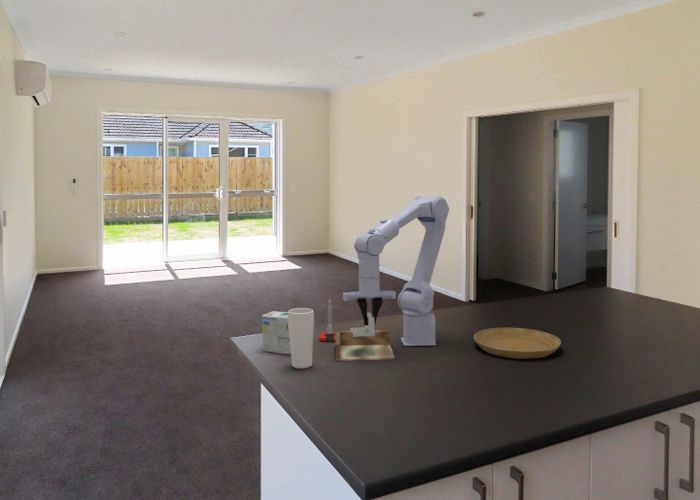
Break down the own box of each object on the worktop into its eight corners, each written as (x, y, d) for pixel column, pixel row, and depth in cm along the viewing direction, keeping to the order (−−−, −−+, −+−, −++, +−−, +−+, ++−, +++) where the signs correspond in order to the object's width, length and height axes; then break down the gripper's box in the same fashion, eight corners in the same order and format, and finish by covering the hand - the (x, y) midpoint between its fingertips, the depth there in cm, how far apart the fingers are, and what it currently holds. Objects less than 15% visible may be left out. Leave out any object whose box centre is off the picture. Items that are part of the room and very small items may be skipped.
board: (389, 345, 170) (389, 343, 170) (394, 359, 156) (394, 357, 156) (335, 346, 170) (335, 344, 170) (336, 360, 156) (336, 358, 156)
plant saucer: (567, 364, 151) (567, 352, 151) (473, 360, 156) (474, 348, 156) (553, 339, 175) (554, 329, 174) (473, 336, 179) (473, 326, 179)
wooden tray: (389, 343, 170) (389, 330, 170) (394, 357, 156) (394, 343, 156) (335, 344, 170) (335, 331, 169) (336, 358, 156) (335, 344, 155)
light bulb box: (305, 349, 167) (305, 313, 166) (294, 355, 161) (293, 318, 160) (274, 345, 172) (273, 310, 170) (262, 351, 165) (260, 314, 164)
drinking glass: (318, 363, 154) (317, 308, 152) (308, 371, 147) (307, 314, 146) (295, 361, 156) (294, 307, 154) (284, 368, 149) (283, 312, 148)
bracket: (374, 335, 158) (374, 317, 157) (353, 336, 157) (352, 318, 157) (370, 329, 165) (370, 312, 164) (350, 330, 164) (349, 313, 163)
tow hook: (322, 335, 184) (315, 341, 175) (321, 295, 183) (315, 299, 174) (347, 336, 183) (343, 342, 173) (347, 296, 182) (343, 300, 173)
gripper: (392, 273, 164) (392, 320, 166) (341, 275, 162) (342, 322, 164) (397, 277, 157) (397, 326, 159) (344, 279, 155) (345, 328, 157)
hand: (369, 324), depth 161 cm, fingers closed on bracket
